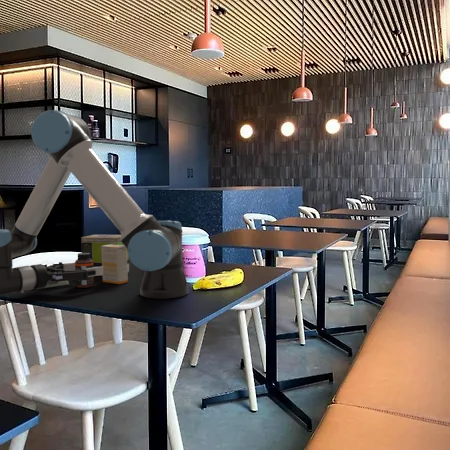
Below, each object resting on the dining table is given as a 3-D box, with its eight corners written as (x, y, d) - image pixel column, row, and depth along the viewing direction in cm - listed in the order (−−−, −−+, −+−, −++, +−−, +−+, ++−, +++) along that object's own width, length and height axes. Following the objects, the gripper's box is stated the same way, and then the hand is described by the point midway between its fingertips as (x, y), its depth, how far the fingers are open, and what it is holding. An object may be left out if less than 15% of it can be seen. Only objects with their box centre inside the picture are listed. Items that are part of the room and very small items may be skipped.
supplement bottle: (88, 288, 164) (87, 255, 163) (72, 288, 165) (71, 254, 164) (96, 284, 170) (95, 252, 169) (80, 284, 171) (79, 251, 170)
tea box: (129, 272, 192) (128, 234, 191) (118, 277, 183) (117, 237, 181) (95, 270, 196) (93, 233, 195) (81, 275, 186) (80, 236, 185)
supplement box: (128, 282, 174) (127, 245, 173) (118, 284, 170) (117, 247, 169) (112, 279, 178) (111, 243, 177) (101, 282, 174) (100, 245, 173)
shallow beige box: (68, 284, 171) (68, 274, 171) (37, 289, 164) (36, 279, 164) (54, 278, 180) (54, 270, 180) (24, 283, 173) (23, 274, 173)
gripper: (14, 283, 163) (72, 273, 178) (51, 295, 146) (112, 283, 161) (13, 261, 162) (72, 253, 177) (50, 270, 145) (111, 261, 160)
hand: (91, 267), depth 169 cm, fingers open, 13 cm apart
